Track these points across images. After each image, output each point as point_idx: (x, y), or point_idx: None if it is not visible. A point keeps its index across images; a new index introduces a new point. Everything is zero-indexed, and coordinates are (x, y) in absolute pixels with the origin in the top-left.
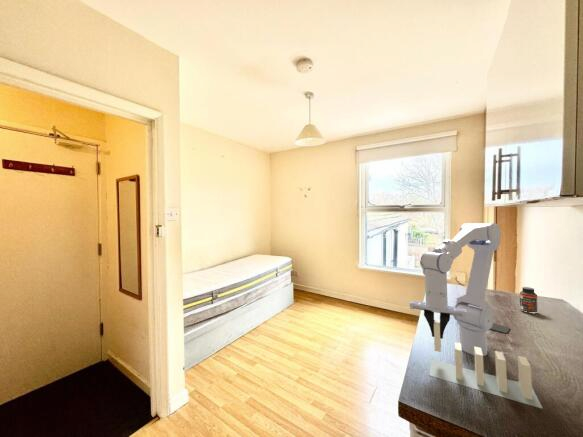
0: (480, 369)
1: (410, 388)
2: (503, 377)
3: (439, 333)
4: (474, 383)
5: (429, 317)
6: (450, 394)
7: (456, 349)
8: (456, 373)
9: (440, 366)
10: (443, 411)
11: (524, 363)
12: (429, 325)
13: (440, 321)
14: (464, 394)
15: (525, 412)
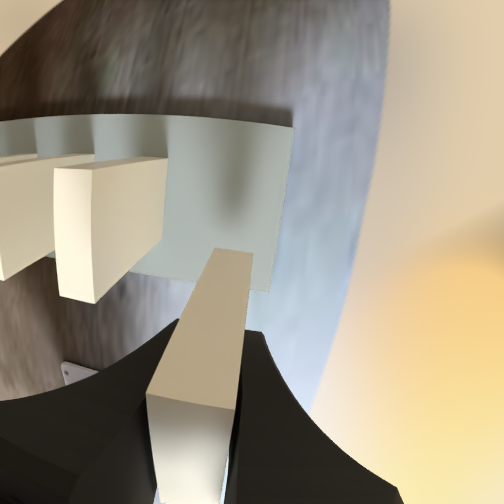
0: (38, 158)
1: (375, 39)
2: None
3: (184, 317)
4: (101, 156)
5: (311, 493)
6: (212, 58)
7: (83, 170)
8: (157, 159)
9: (229, 240)
10: None
11: None
12: (294, 400)
13: (111, 431)
14: (156, 86)
15: (14, 102)
